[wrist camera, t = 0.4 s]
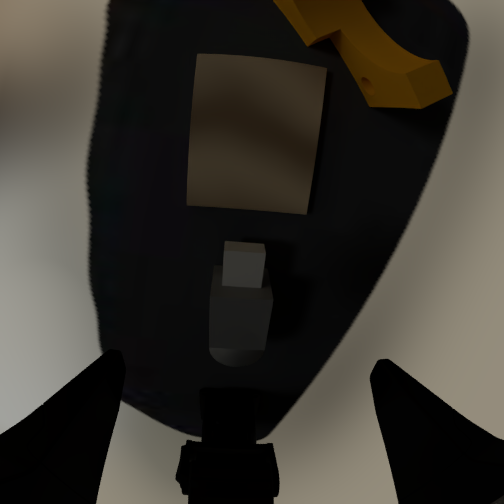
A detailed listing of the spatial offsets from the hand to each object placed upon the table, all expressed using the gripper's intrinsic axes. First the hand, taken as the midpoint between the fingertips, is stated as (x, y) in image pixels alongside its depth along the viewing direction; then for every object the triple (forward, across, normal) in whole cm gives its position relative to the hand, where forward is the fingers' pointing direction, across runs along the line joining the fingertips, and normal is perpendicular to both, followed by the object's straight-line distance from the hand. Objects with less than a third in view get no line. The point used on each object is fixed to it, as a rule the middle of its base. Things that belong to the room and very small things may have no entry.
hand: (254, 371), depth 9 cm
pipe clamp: (+12, -4, -15) cm, 20 cm away
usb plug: (+13, 0, +4) cm, 13 cm away
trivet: (+12, 0, -7) cm, 14 cm away
